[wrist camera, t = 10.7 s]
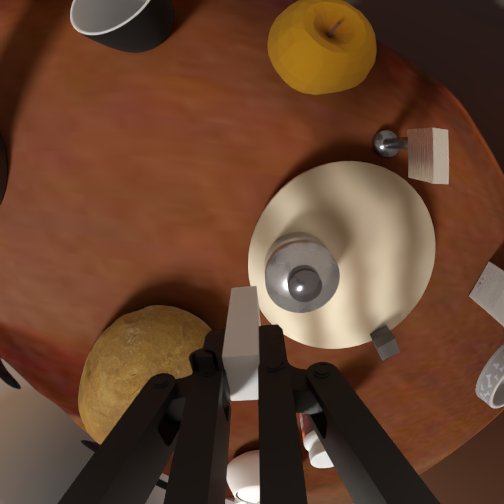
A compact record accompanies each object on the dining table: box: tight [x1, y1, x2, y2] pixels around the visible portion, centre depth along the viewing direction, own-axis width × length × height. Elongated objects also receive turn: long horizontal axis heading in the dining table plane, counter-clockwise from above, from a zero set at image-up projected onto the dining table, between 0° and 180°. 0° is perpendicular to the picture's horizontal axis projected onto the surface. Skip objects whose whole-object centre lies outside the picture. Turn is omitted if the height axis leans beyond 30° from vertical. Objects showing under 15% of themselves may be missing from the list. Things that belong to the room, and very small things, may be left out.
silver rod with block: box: [372, 128, 449, 184], centre depth 24 cm, size 3×5×12 cm, turn 4°
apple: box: [268, 0, 377, 95], centre depth 22 cm, size 10×10×12 cm
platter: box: [248, 161, 435, 361], centre depth 31 cm, size 22×23×4 cm
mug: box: [70, 0, 174, 53], centre depth 21 cm, size 12×9×10 cm
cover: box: [264, 232, 340, 313], centre depth 29 cm, size 7×7×6 cm
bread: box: [78, 305, 212, 445], centre depth 37 cm, size 18×35×10 cm, turn 150°
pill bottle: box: [299, 413, 334, 468], centre depth 36 cm, size 6×6×11 cm
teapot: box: [226, 450, 260, 504], centre depth 42 cm, size 22×14×11 cm, turn 151°
